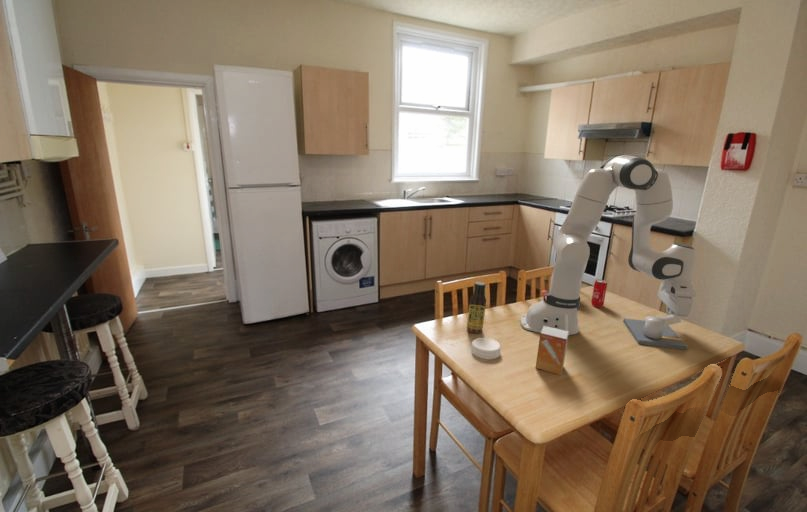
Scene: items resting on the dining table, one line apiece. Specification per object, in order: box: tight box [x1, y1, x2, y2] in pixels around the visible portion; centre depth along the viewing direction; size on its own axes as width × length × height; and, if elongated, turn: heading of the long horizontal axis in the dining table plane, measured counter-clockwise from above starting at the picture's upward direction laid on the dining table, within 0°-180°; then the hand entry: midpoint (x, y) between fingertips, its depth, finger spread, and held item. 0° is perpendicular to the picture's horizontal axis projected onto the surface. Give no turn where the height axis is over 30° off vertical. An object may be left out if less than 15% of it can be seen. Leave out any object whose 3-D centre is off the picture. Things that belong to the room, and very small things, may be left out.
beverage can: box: [591, 279, 608, 308], centre depth 178 cm, size 5×5×12 cm
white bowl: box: [471, 337, 502, 360], centre depth 135 cm, size 10×10×4 cm
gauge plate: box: [622, 317, 688, 351], centre depth 151 cm, size 16×20×2 cm
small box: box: [535, 326, 570, 376], centre depth 125 cm, size 8×6×13 cm
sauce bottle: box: [466, 281, 487, 334], centre depth 149 cm, size 7×6×20 cm
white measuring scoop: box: [643, 314, 683, 339], centre depth 148 cm, size 17×6×6 cm, turn 113°
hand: (669, 317), depth 153 cm, fingers closed
